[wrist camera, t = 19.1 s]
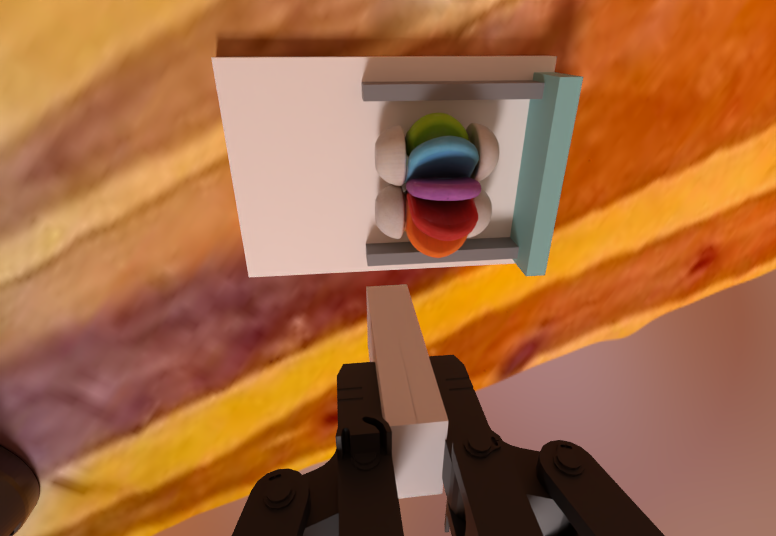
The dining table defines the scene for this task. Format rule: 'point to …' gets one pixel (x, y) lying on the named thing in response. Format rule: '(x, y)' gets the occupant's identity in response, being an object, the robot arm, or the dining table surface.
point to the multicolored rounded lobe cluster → (435, 182)
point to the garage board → (357, 154)
